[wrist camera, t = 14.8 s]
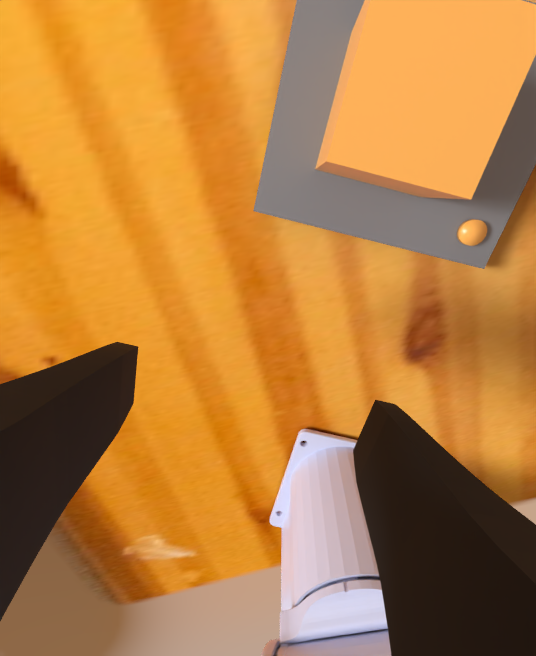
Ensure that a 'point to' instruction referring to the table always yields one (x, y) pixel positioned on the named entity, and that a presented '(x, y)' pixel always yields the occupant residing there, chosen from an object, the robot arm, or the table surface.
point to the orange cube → (427, 93)
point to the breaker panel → (366, 199)
